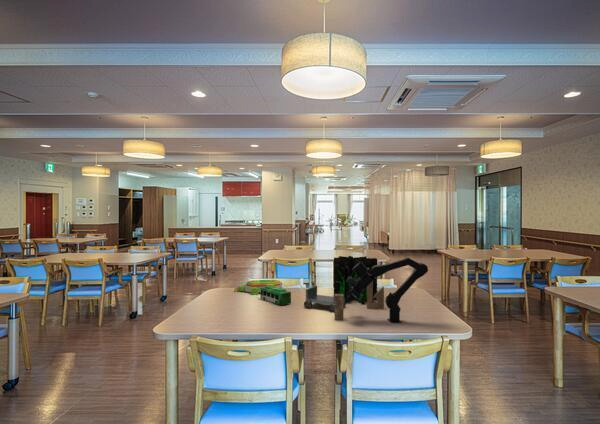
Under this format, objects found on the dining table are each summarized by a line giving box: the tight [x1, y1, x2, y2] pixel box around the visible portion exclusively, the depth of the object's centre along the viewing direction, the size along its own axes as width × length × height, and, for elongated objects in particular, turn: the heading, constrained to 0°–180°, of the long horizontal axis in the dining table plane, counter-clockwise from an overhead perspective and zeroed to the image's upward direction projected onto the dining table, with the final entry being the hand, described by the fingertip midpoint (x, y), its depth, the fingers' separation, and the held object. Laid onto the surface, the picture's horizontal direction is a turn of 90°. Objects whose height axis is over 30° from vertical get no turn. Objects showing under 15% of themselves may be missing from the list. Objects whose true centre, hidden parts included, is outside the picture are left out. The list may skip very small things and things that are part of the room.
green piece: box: [233, 279, 283, 296], centre depth 287 cm, size 29×38×8 cm
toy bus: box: [260, 286, 292, 306], centre depth 252 cm, size 11×27×10 cm, turn 31°
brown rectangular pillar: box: [334, 294, 344, 321], centre depth 211 cm, size 5×5×14 cm
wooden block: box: [366, 282, 385, 310], centre depth 234 cm, size 4×11×18 cm, turn 84°
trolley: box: [303, 285, 348, 313], centre depth 236 cm, size 23×17×12 cm
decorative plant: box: [333, 255, 378, 305], centre depth 259 cm, size 29×30×30 cm
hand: (345, 300), depth 210 cm, fingers open, 9 cm apart
